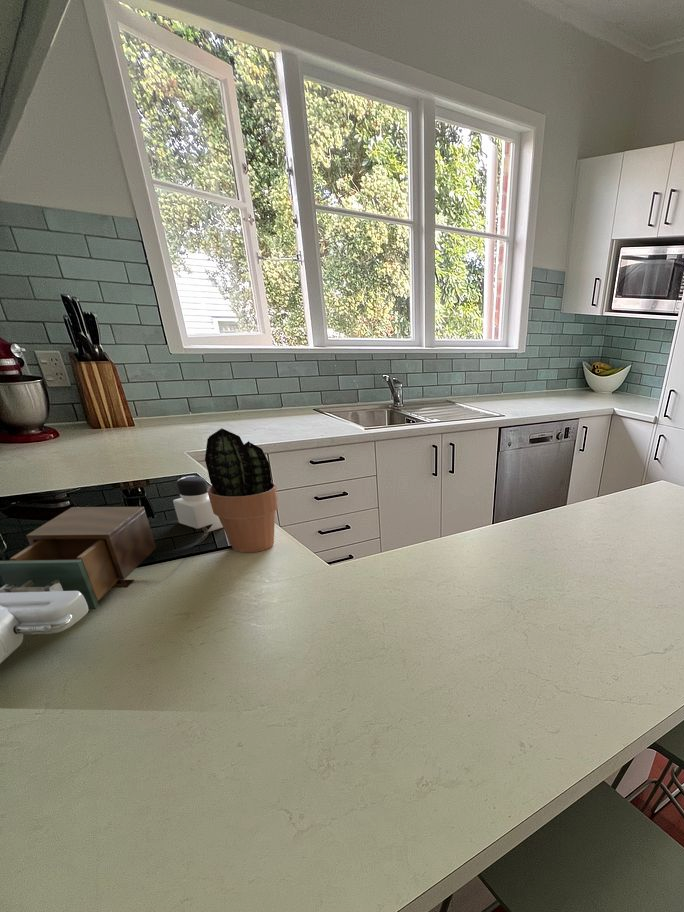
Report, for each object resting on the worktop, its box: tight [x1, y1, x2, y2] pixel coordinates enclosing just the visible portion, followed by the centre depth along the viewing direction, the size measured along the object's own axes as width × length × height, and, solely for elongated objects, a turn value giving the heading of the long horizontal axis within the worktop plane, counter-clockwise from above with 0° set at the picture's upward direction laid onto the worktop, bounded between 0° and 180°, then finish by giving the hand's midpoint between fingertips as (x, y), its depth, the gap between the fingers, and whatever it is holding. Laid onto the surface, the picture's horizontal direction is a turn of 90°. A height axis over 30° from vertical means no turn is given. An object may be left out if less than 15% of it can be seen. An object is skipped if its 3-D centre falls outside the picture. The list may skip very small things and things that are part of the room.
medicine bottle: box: [172, 475, 224, 534], centre depth 127 cm, size 7×7×12 cm
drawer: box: [0, 539, 120, 611], centre depth 95 cm, size 19×12×9 cm, turn 7°
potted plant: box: [204, 428, 279, 553], centre depth 115 cm, size 14×14×25 cm
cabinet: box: [25, 506, 157, 589], centre depth 106 cm, size 16×14×11 cm
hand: (35, 587), depth 88 cm, fingers closed on drawer, 5 cm apart
